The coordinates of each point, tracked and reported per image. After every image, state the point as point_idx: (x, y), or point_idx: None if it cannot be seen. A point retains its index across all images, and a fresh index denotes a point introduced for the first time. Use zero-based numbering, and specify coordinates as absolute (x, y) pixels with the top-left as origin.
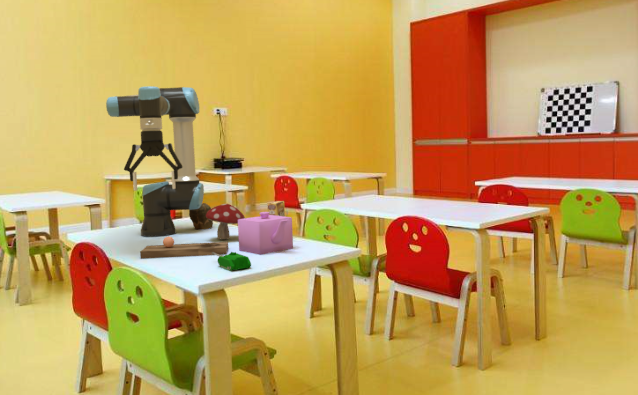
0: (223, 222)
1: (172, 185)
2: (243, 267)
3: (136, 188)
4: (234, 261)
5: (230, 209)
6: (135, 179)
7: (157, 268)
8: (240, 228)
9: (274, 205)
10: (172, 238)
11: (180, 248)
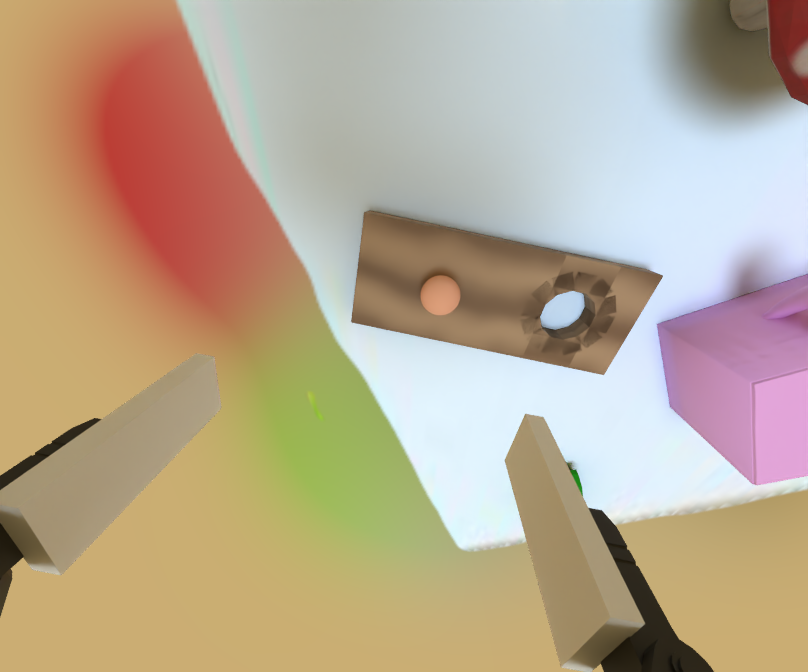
0: (804, 102)
1: (512, 484)
2: None
3: (208, 393)
4: None
5: None
6: (144, 475)
7: (401, 434)
8: (719, 375)
9: None
10: (455, 306)
11: (472, 327)
